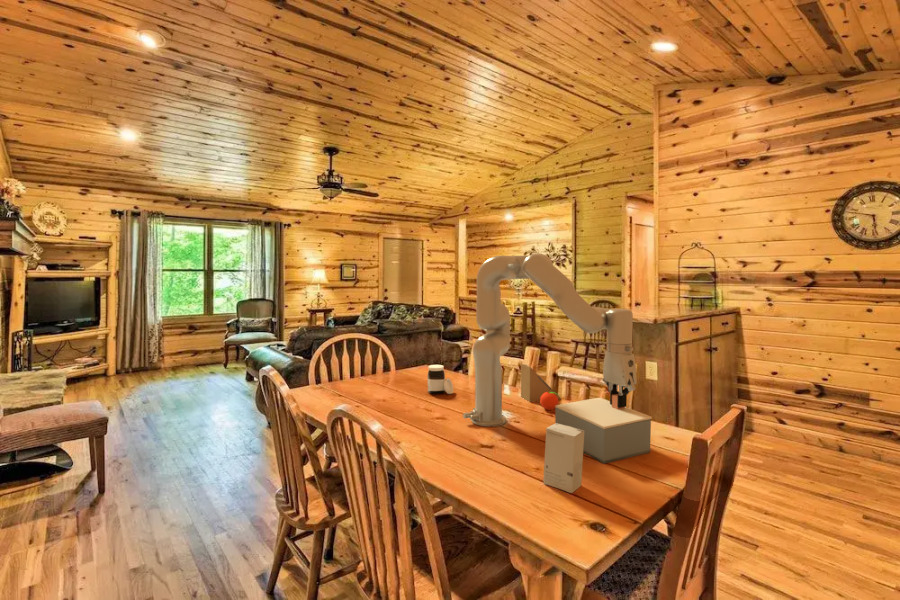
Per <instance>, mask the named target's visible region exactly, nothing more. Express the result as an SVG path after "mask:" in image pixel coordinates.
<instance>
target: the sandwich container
mask: <svg viewBox="0 0 900 600" xmlns="http://www.w3.org/2000/svg"><path fill="white" fill-rule="evenodd" d="M545 392H554V394H555V393H556V391H554V389H553V388H552V387H551V386H550V385H549V384H548V383H547V382H546V381H545V380H544V379H543V378H541V376H539V374H538V373H537V372H536V370H534V369H533V368H532V367H531V366H530V365H528V364H525V363H522V362H521V363H520V398H521V397H522V399H523V398H524V399H523V400H525V401H526V400H527V402H528V401H529V402H528V403H537V402H536V401H540V398H541V396H542V394H544V393H545ZM557 394H558V393H557ZM557 394H555V395H556V396H557V398H558V400H562V397H561V396H560V395H559V394H558V395H557Z"/></svg>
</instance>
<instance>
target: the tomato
mask: <svg viewBox="0 0 900 600" xmlns="http://www.w3.org/2000/svg"><path fill="white" fill-rule="evenodd" d="M554 392H555V391H554ZM554 392H545V393H544V394H542V396H541V398H540V402H539V403H540V405H541V407H542V408H543V409H545V410H548V411H551V410H555V405H559V399H558V398H557V396H556V395H555V394H557V395H558V396H559V394H558V393H556V392H555V394H554Z"/></svg>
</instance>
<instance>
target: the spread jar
mask: <svg viewBox="0 0 900 600" xmlns="http://www.w3.org/2000/svg"><path fill="white" fill-rule="evenodd" d="M444 370H445V369H444V365H441V364H430V365H428V371H427V391H428V393H429V394H432V395H440V394H443V393H445V392H446V393H447V394H448V395H451V394H453V393H454V384H453V382H452V380H451V378H448V377H447V378H446V373H445V371H444Z"/></svg>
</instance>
